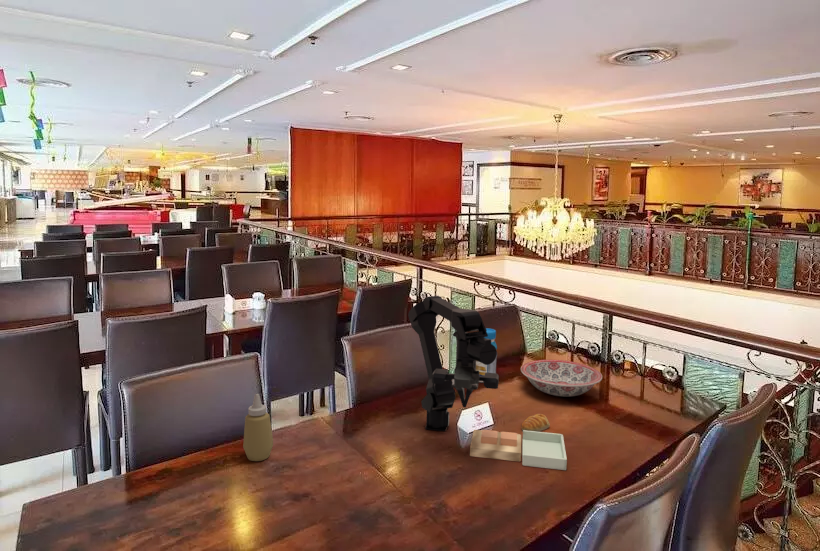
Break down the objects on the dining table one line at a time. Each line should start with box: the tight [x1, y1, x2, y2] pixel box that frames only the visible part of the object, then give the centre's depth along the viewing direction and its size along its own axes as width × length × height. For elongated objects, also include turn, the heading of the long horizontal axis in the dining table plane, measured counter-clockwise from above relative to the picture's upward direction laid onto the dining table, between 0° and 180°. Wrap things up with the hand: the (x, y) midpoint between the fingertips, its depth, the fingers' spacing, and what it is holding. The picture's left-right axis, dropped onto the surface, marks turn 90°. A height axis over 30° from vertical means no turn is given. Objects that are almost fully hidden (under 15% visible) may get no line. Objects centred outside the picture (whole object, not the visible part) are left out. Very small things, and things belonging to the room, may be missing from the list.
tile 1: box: [481, 429, 499, 444], centre depth 158 cm, size 4×4×2 cm
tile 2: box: [500, 431, 518, 447], centre depth 157 cm, size 4×4×2 cm
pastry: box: [521, 413, 550, 432], centre depth 173 cm, size 9×7×4 cm
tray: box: [521, 430, 568, 471], centre depth 156 cm, size 12×16×3 cm
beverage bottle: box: [476, 327, 498, 376], centre depth 216 cm, size 8×8×20 cm
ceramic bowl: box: [520, 359, 603, 397], centre depth 204 cm, size 29×29×8 cm
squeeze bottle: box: [242, 393, 274, 462], centre depth 150 cm, size 8×8×18 cm
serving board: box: [469, 429, 522, 463], centre depth 158 cm, size 14×12×2 cm
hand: (464, 406), depth 159 cm, fingers closed
